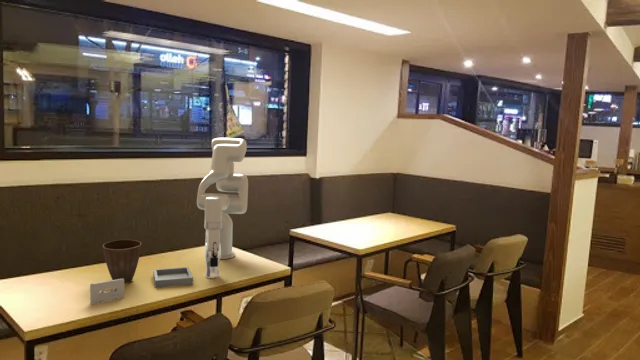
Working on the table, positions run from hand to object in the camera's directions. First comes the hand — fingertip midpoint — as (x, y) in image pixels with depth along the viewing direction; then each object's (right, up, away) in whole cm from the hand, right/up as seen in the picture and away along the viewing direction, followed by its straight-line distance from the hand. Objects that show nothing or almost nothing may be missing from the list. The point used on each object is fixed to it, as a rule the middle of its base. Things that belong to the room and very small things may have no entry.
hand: (212, 263), depth 212 cm
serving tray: (-16, -6, -6) cm, 18 cm away
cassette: (-32, -9, -31) cm, 46 cm away
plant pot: (-36, -6, -10) cm, 38 cm away
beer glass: (0, -6, +1) cm, 6 cm away
